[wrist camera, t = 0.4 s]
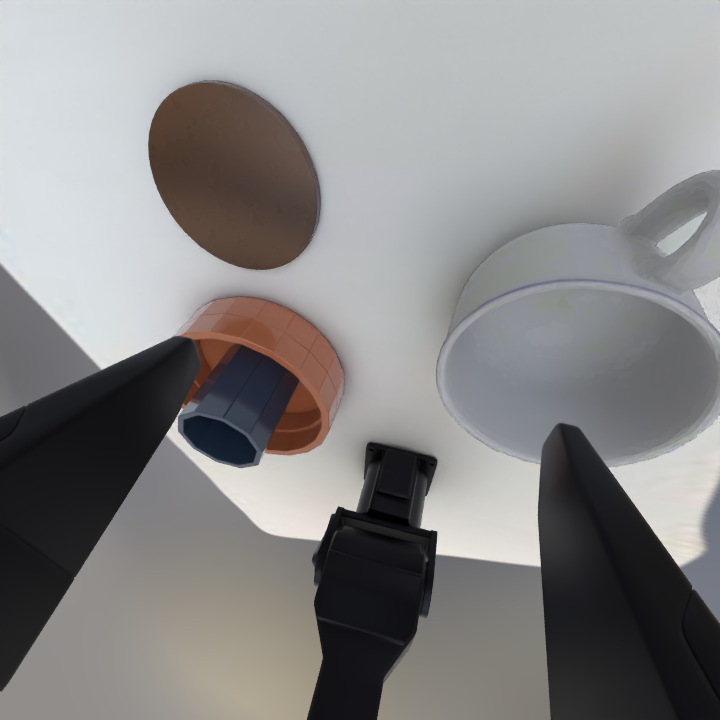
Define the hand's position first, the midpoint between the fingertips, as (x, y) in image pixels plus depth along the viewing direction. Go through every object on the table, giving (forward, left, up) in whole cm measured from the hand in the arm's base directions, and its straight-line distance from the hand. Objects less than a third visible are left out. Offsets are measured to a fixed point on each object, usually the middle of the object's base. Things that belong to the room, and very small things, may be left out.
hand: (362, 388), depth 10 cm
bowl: (-16, +11, -14) cm, 24 cm away
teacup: (-4, -8, -15) cm, 17 cm away
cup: (-16, +11, -14) cm, 23 cm away
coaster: (-2, +11, -14) cm, 18 cm away
